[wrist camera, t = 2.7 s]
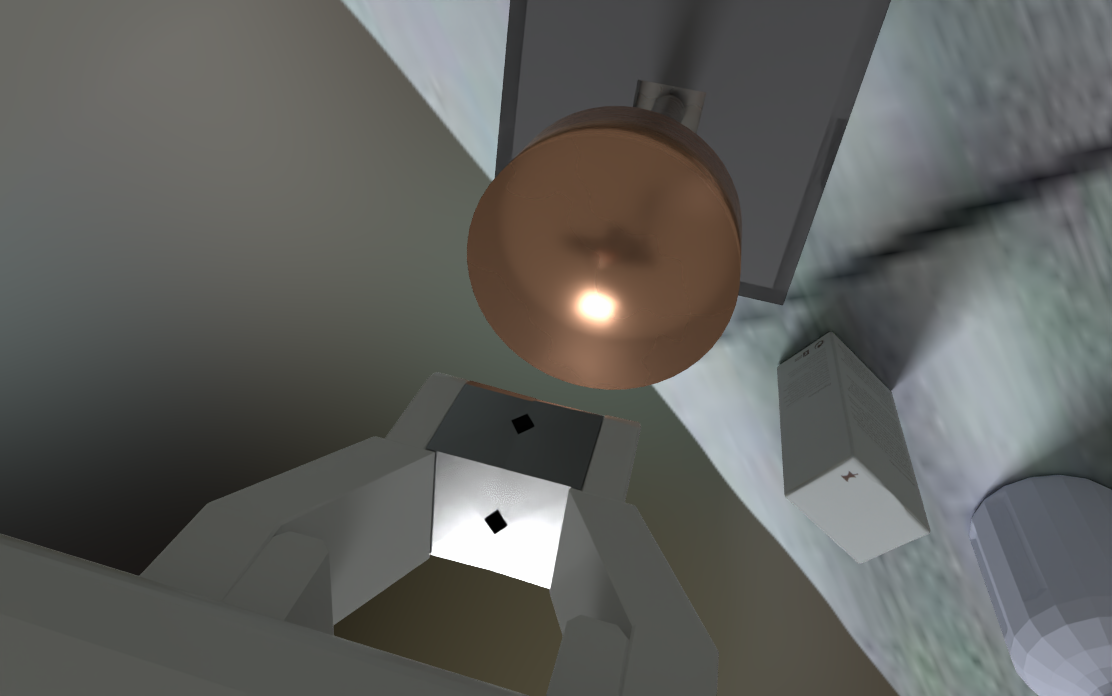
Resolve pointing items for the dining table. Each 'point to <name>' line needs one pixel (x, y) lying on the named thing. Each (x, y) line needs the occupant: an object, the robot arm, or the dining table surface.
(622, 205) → the plunger
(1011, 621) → the soap bottle
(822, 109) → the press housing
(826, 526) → the skincare box
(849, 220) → the dining table surface
